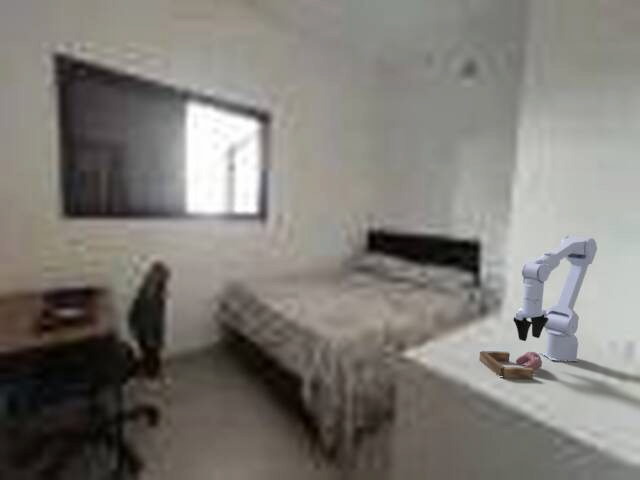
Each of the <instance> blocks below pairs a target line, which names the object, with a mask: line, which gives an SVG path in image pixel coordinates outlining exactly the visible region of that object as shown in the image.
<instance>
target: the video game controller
mask: <svg viewBox="0 0 640 480" xmlns="http://www.w3.org/2000/svg"><path fill="white" fill-rule="evenodd" d="M515 363H516V364H517V365H524V366H523V368H532V369H533V370H534V372H535V371H537V370H539V369H541V368H542V366H543V361H542V359H541V356H540V355H539V353H537V352H536V351H531V350H529V351H527V352H526V353H524V354H523V355H521V356H519V357H518V358H516V360H515Z"/></svg>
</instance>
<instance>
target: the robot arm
mask: <svg viewBox="0 0 640 480" xmlns="http://www.w3.org/2000/svg"><path fill="white" fill-rule="evenodd" d="M597 251H598V247H597V242H596V240H595V239H594V238H592V237H591V238H587V237H578V236H577V237H575V236H570V235H566V236H564V237H563V238H562V239H561V240H560V245H559V246H558V247H556V248H555V249H554V250H553V251H552V252H549V251H545V252H544V253H543V255H542V256H541V255H540V257H539V258H537V259H536V260H535V261H533V262H527V263H525V264H524V265H523V267H522V270H521V275H522V279H523V282H522V283H523V284H524V288H523V289H524V290H523V298H522V299H523V300H522V301H523V302H522V308H520V309H519V312H515V317H513V322H514V324H515V327H516V330H517V334H518V339H519V340H520V341H523V342H526V341H527V338H528V333H529V331H530V328H531V335H532V337H533V338H536V339H540V337H541V334H542V331H543V329H545V332H546V343H545V351H540V352H539V354H540V353H542V354H543V355H542V354H541V355H542V356H544V355H545V356H547V357H548V358H550V357H551V358H550V359H552V358H555V359H556V360H561V361H560V362H563V361H562V360H568V361H567V362H572V361H578V362H579V360H578V359H577V356H578V348H579V341H578V340H579V339H578V338H577V336H576V335H575V333H577V330H578V326H579V324H578V323H579V319H580V317H579V315H578V314H577V313H576V311H575V310H574V307H575V306H576V302H577V299H578V296H579V293H580V291H581V289H582V288H581V287H582V284H583V281H584V279H585V275H586V274H587V270H588V267H589V266H590V265H591V264H592V263H593V262H594V259H595V257H596V254H597ZM563 259H566V261H567V262H569V263H570V267H569V270H568V274H567V276H566V278H565V281H564V285H563V287H562V290H561V292H560V295H559V298H558V300H557V303H556V304H555V305H552V306H550V307H549V308H548V310H546V309H543V308H542V307H543V300H544V299H543V298H544V289H545V288H544V287H545V282H547V281H548V280H549V276H550V275H551V273H552V272H553V271H554V270H555V269H557V268H558V267H559V266H560V264H561V261H562V260H563ZM528 319H530V320H531V321H530V320H528ZM545 356H544V357H545ZM547 357H546V358H547ZM548 358H547V359H548ZM550 359H549V360H550ZM552 360H554V359H552ZM552 360H551V361H552Z"/></svg>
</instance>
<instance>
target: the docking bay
mask: <svg viewBox="0 0 640 480" xmlns="http://www.w3.org/2000/svg"><path fill="white" fill-rule="evenodd" d="M510 354H511V352H508V351H501V350H500V351H497V350H496V351H494V350H481V351H480V352H479V362H481V364H483V365H484V366H486V367H487V368H488V367H489V368H490V369H489V368H488V369H489V370H491V372H492V373H494V372H495V373H496V374H495V373H494V374H495V375H496V376H498V375H499V376H503V377H504V378H503V377H502V378H503V379H505V378H515V379H514V380H516V379H517V380H533V379H534V373H535V371H534V370H533V369H532V368H524V367H520V366H518V367H512V366H511V367H510V366H504V365H502V364H501V363H500V362H503V363H506V362H507V363H508V362H510ZM499 376H498V377H499Z"/></svg>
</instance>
